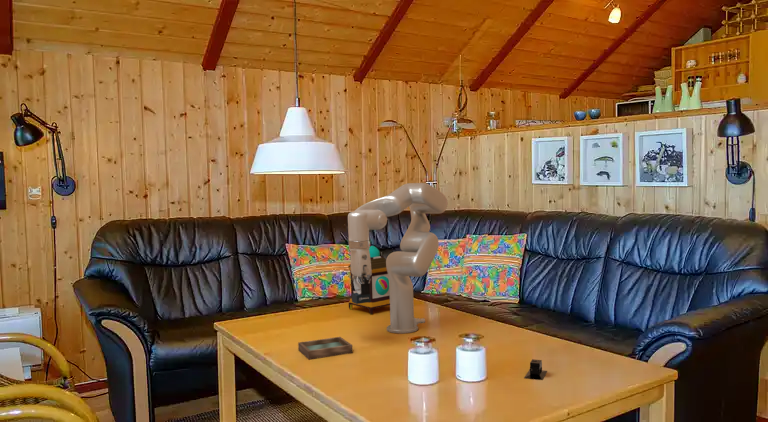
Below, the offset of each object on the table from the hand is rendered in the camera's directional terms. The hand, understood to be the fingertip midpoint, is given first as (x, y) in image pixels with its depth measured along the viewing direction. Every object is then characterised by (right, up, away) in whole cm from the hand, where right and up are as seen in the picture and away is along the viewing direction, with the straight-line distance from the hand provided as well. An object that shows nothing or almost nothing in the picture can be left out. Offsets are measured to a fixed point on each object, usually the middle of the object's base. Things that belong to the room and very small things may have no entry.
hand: (361, 292), depth 221 cm
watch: (0, -4, 0) cm, 4 cm away
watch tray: (-13, -20, -7) cm, 25 cm away
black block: (+55, -20, -39) cm, 70 cm away
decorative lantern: (+4, -17, +61) cm, 63 cm away
